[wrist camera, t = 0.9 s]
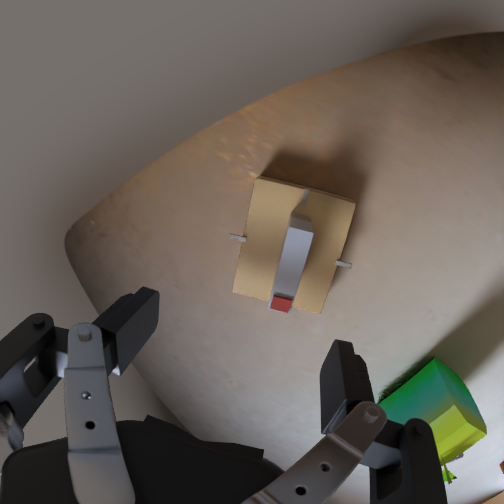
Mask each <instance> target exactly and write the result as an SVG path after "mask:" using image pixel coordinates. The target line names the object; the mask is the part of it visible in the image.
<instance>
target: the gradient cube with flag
mask: <svg viewBox="0 0 504 504" xmlns="http://www.w3.org/2000/svg"><path fill="white" fill-rule="evenodd" d="M378 405H379V406H381V407H382V408H383V409H384V411H385V412H386V415H387V419H389V420H391V421H394V422H397V423H400V424H403V425H404V424H405V423H406V422H407V421H408V420H409V419H411V418H419V419H422V420H424V421H426V422H427V423H428V424H429V425H430V427H431V428H432V431H433V434H434V438H435V442H436V446H437V451H438V455H439V459H440V464H441V466H443V465H444V468H445V470H443V471H442V474H443V479H444V482H445V481H448V484H450V483H452V481H451V480H452V479H456V478H457V477H456V476H454V475H453V474H452V473H451V472H450V471H448V470H447V468H446V465H445V464H446V463H447V462H449V461H451V460H452V459H454V458H455V457H457V456H458V455H460V454H461V453H463V452H464V451H465V450H467V449H468V448H470V447H471V446H472V445H474V444H475V443H476V442H478V441H479V440H480V439H482V438H483V437H484V436H485V435H487V430H486V425H485V422H484V420H483V418H482V416H481V414H480V412H479V410H478V408H477V406H476V404H475V402H474V400H473V398H472V396H471V394H470V392H469V390H468V388H467V387H466V386H465V384H464V383H463V382H462V380H461V379H460V377H459V376H458V375H457V374H455V373H454V372H453V371H452V370H451V369H450V368H448V367H447V366H446V365H445V364H444V363H443V362H441V361H440V360H439V359H438V358H437V357H434V358H433V359H432V360H431V361H430V362H429V363H428V364H427V365H426V366H425V367H423V368H422V369H421V370H420V371H419V372H418V373H417V374H415V375H414V376H413V377H412V378H411V379H409V380H408V381H407V382H406V383H405V384H403V385H402V386H401V387H400V388H398V389H397V390H396V391H394V392H393V393H392V394H391V395H389V396H388V397H387V398H385V399H384V400H383V401H381V402H380V403H378Z"/></svg>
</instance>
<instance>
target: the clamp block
mask: <svg viewBox="0 0 504 504" xmlns="http://www.w3.org/2000/svg"><path fill="white" fill-rule="evenodd" d="M355 207H356V203H355V202H354V201H353V200H351V199H350V198H347V197H343V196H340V195H336V194H332V193H329V192H325V191H321V190H318V189H314V188H310V187H306V186H302V185H298V184H294V183H290V182H286V181H282V180H278V179H273V178H269V177H264V176H258V177H257V178H255V183H254V188H253V192H252V197H251V202H250V207H249V212H248V216H247V221H246V226H245V231H244V236H239V235H235V234H229V238H231V239H235V240H239V241H242V246H241V250H240V255H239V260H238V265H237V270H236V275H235V280H234V285H233V290H232V292H234V293H238V294H242V295H246V296H250V297H253V298H257V299H261V300H265V301H269V299H270V294H271V289H272V284H273V280H274V276H275V272H276V268H277V265H278V261H279V257H280V253H281V249H282V245H283V241H284V237H285V233H286V229H287V225H288V221H289V217H290V213H295V214H299V215H303V216H307V217H310V218H311V222H312V226H313V231H314V235H313V238H312V242H311V245H310V249H309V252H308V256H307V259H306V263H305V266H304V269H303V273H302V276H301V279H300V283H299V286H298V289H297V292H296V296H295V299H294V302H293V305H292V307H294V308H298V309H302V310H307V311H311V312H315V313H321V311H322V308H323V306H324V303H325V300H326V297H327V295H328V292H329V289H330V286H331V283H332V280H333V278H334V275H335V272H336V269H337V266H338V265H339V266H343V267H347V268H351V266H352V264H350V263H346V262H343V261H339V260H340V257H341V253H342V250H343V247H344V244H345V241H346V238H347V234H348V231H349V228H350V224H351V221H352V217H353V214H354V210H355Z"/></svg>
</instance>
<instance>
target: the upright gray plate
mask: <svg viewBox="0 0 504 504" xmlns="http://www.w3.org/2000/svg"><path fill="white" fill-rule="evenodd" d="M313 235H314V231H313V226H312V222H311V218H310V217H307V216H303V215H299V214H295V213H290V217H289V221H288V225H287V229H286V233H285V237H284V241H283V245H282V249H281V253H280V257H279V261H278V265H277V268H276V272H275V276H274V280H273V284H272V289H271V294H270V299H269V303H268V309H271V310H275V311H279V312H283V313H288V314H290V311H291V308H292V305H293V302H294V299H295V296H296V292H297V289H298V286H299V283H300V279H301V276H302V273H303V269H304V266H305V263H306V259H307V256H308V252H309V249H310V245H311V242H312V238H313Z"/></svg>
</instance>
